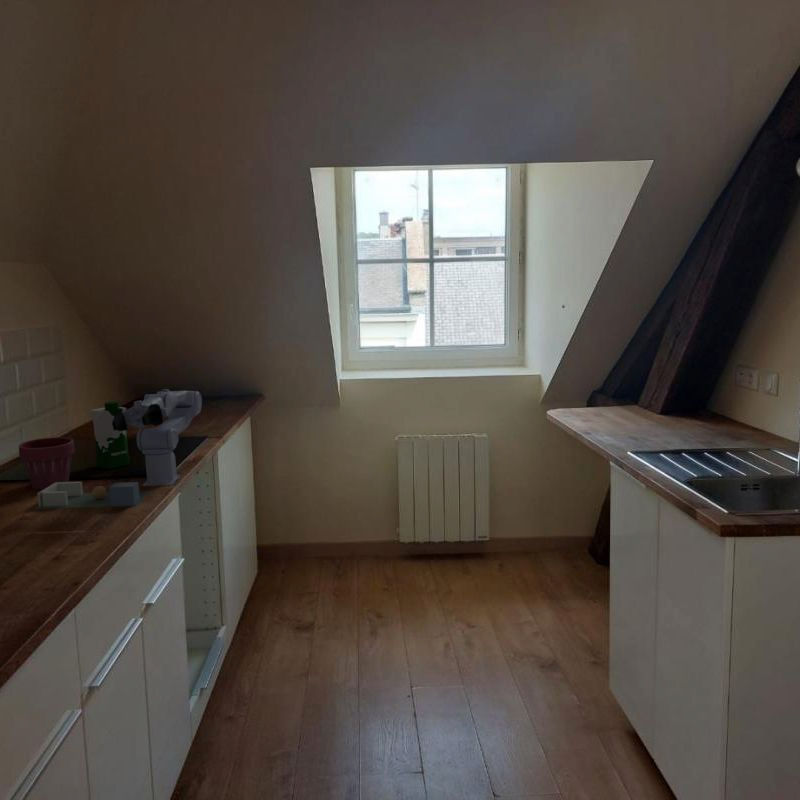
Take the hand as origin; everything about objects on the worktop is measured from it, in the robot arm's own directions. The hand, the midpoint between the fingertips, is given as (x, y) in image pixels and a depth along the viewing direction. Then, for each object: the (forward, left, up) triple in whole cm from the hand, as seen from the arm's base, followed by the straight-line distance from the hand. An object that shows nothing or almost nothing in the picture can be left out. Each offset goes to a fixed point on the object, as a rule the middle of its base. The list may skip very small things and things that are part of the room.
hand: (129, 423), depth 191 cm
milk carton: (-43, -22, -21) cm, 52 cm away
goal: (-4, -21, -20) cm, 29 cm away
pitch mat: (-3, -12, -21) cm, 24 cm away
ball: (-4, -11, -19) cm, 22 cm away
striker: (+1, -2, -20) cm, 21 cm away
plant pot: (-20, -31, -21) cm, 42 cm away
